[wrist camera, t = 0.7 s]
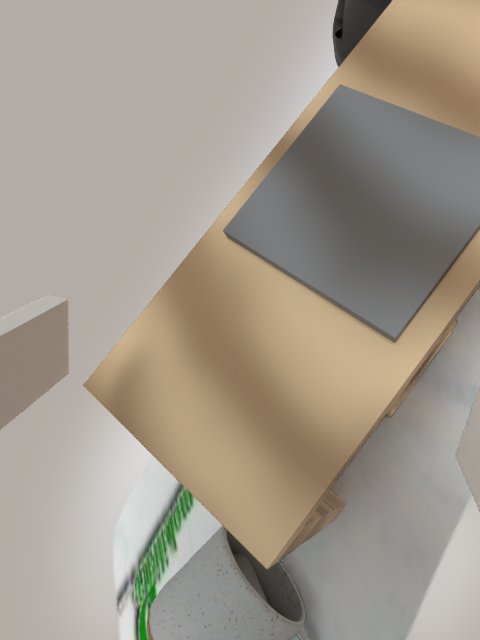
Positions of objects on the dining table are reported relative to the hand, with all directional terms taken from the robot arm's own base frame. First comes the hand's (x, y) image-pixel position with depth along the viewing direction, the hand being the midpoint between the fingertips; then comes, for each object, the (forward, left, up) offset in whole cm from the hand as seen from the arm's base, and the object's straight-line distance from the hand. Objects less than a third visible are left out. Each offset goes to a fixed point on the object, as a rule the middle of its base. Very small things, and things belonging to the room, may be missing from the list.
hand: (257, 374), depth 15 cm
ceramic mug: (+13, +3, -23) cm, 27 cm away
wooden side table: (-8, -1, -23) cm, 24 cm away
